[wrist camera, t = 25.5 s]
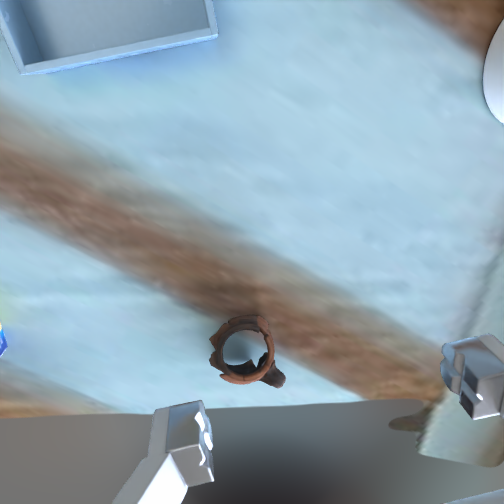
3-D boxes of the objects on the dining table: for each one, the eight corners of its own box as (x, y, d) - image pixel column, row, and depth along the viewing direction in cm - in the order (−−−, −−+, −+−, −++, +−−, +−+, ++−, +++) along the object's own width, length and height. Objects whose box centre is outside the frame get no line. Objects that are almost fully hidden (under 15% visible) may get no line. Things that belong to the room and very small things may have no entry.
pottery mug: (193, 353, 52) (194, 368, 43) (229, 296, 53) (237, 301, 45) (263, 396, 53) (276, 418, 45) (296, 339, 54) (315, 351, 46)
